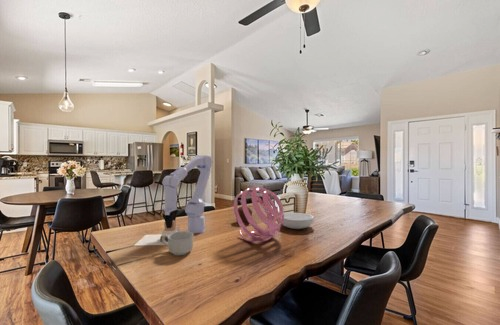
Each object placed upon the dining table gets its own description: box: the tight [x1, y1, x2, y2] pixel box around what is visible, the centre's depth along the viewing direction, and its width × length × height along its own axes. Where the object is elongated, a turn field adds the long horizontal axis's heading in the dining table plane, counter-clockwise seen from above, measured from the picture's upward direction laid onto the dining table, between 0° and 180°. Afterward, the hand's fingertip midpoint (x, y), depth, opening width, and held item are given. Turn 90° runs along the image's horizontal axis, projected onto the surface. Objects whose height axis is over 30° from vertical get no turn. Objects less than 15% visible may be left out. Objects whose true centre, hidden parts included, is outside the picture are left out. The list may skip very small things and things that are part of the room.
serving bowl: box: [280, 212, 314, 230], centre depth 145 cm, size 21×21×7 cm
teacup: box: [162, 230, 194, 257], centre depth 105 cm, size 14×11×8 cm
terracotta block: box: [163, 220, 177, 231], centre depth 121 cm, size 4×4×4 cm
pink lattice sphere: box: [233, 186, 285, 243], centre depth 123 cm, size 28×28×27 cm
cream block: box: [161, 226, 180, 236], centre depth 121 cm, size 7×7×2 cm
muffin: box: [235, 206, 253, 225], centre depth 155 cm, size 12×11×10 cm
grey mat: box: [133, 233, 168, 247], centre depth 121 cm, size 20×16×1 cm
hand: (170, 226), depth 121 cm, fingers open, 6 cm apart
